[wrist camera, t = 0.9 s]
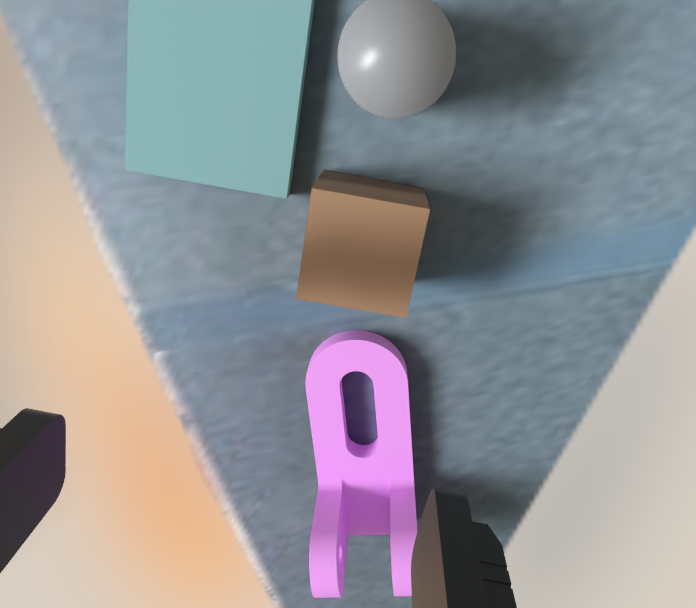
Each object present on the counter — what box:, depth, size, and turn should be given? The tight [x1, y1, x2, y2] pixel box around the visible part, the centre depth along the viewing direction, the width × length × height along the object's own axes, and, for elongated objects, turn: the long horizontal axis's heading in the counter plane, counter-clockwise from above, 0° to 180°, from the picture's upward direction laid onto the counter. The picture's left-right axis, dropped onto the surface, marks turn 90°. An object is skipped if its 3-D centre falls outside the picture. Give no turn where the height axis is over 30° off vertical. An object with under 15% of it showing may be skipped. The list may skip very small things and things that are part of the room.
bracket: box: [306, 330, 417, 598], centre depth 31 cm, size 13×6×7 cm, turn 5°
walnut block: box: [296, 170, 430, 318], centre depth 28 cm, size 5×5×5 cm
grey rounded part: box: [338, 0, 456, 119], centre depth 24 cm, size 4×4×6 cm
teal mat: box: [125, 0, 315, 199], centre depth 27 cm, size 10×8×1 cm
